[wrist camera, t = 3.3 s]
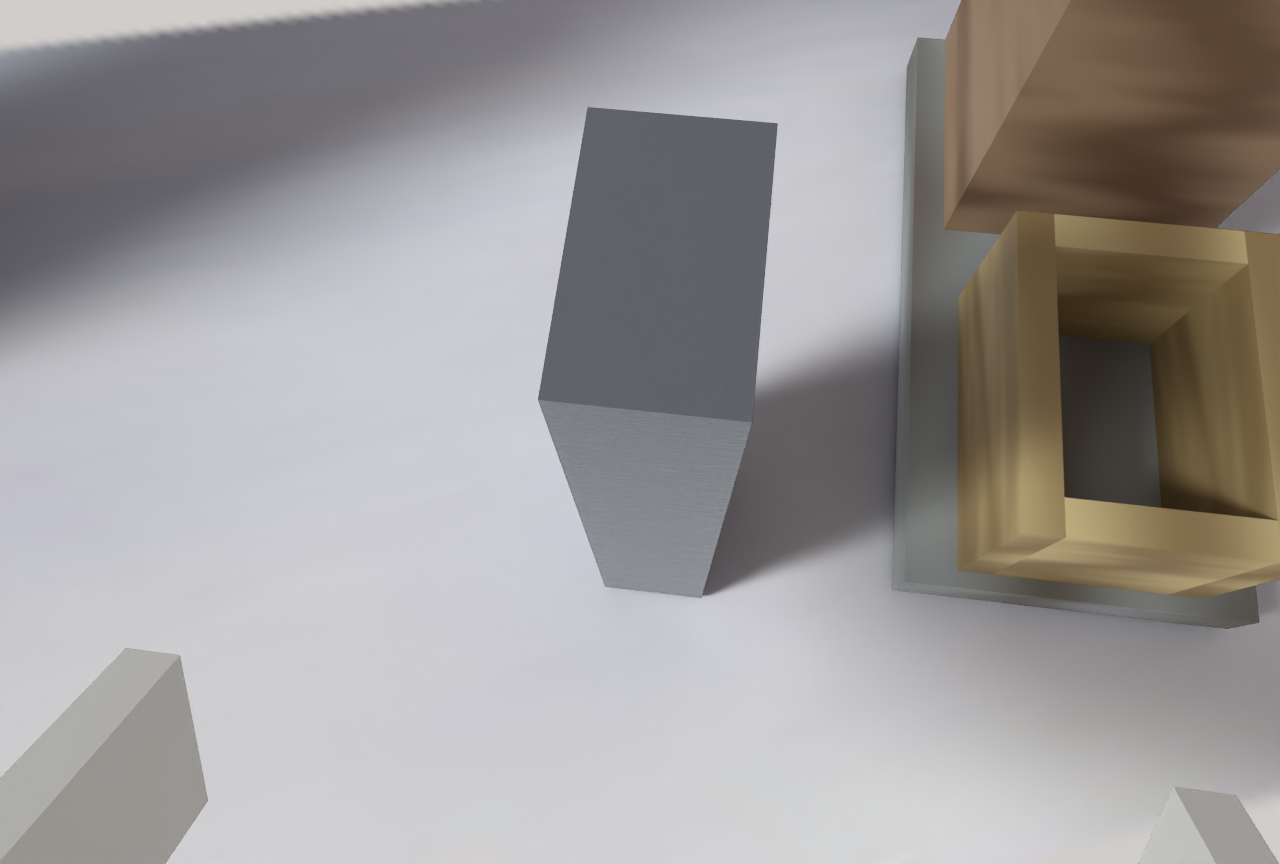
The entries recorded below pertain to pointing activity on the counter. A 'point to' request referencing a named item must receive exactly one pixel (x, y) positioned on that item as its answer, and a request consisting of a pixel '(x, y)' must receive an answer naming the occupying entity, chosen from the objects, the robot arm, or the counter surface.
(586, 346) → the grey block
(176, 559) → the counter surface
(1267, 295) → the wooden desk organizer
